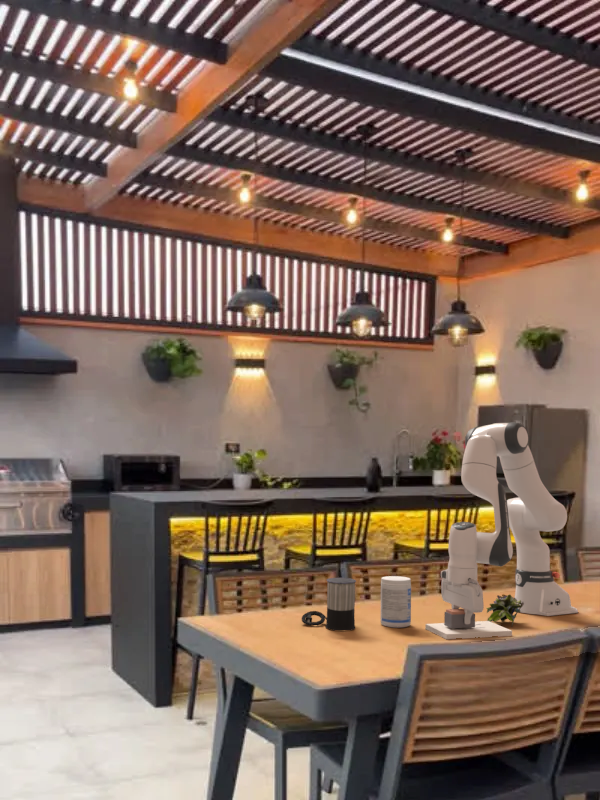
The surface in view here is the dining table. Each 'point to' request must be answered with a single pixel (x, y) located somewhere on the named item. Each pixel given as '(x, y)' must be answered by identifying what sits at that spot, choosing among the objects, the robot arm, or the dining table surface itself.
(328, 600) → the milk frother
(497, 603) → the green leafy plant
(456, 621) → the block
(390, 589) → the supplement tub
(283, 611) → the dining table surface
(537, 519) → the robot arm
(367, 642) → the dining table surface
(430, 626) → the board
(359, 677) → the dining table surface
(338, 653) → the dining table surface
